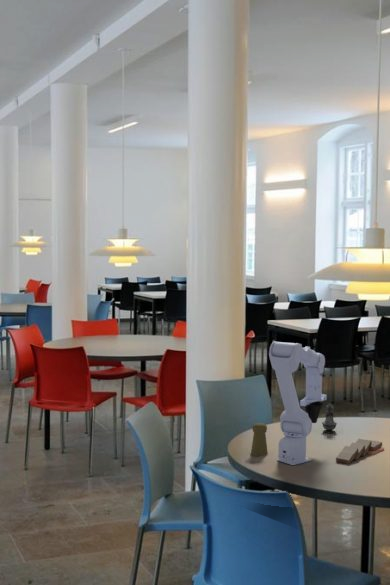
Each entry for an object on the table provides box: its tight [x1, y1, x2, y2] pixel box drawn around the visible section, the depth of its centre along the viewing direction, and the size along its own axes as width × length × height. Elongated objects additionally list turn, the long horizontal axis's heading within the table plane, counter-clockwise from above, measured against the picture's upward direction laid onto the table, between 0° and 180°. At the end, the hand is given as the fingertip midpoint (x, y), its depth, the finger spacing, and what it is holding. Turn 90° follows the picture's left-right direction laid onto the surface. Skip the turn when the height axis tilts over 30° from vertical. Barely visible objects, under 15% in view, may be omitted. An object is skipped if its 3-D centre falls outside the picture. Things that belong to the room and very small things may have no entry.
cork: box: [250, 422, 269, 457], centre depth 294 cm, size 6×6×11 cm
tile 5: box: [366, 446, 385, 455], centre depth 300 cm, size 2×5×8 cm
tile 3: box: [355, 438, 372, 458], centre depth 296 cm, size 2×5×8 cm
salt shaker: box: [321, 402, 338, 435], centre depth 327 cm, size 6×6×12 cm
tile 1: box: [335, 445, 359, 465], centre depth 287 cm, size 2×5×8 cm
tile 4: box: [368, 439, 383, 451], centre depth 301 cm, size 2×5×8 cm
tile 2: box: [348, 442, 365, 462], centre depth 291 cm, size 2×5×8 cm
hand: (313, 422), depth 298 cm, fingers closed
